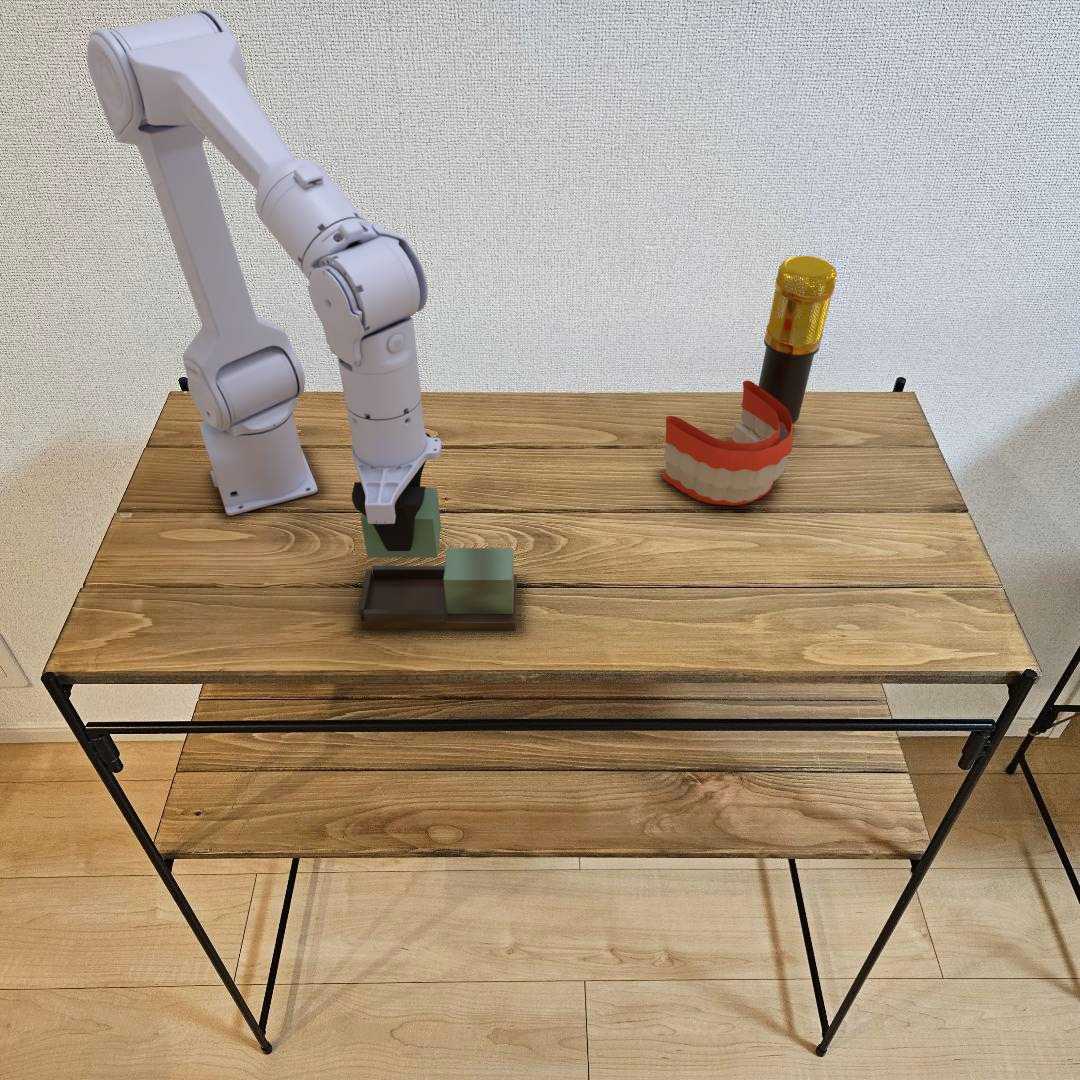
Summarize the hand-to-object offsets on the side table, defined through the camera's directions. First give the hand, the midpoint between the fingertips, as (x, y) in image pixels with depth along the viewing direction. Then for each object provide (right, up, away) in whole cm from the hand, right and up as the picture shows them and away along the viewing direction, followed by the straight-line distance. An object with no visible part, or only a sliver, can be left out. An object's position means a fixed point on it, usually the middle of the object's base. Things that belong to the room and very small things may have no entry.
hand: (402, 530), depth 77 cm
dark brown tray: (+3, -7, +6) cm, 9 cm away
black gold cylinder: (+43, +12, +27) cm, 52 cm away
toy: (+33, +5, +19) cm, 38 cm away
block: (0, -1, +1) cm, 1 cm away
